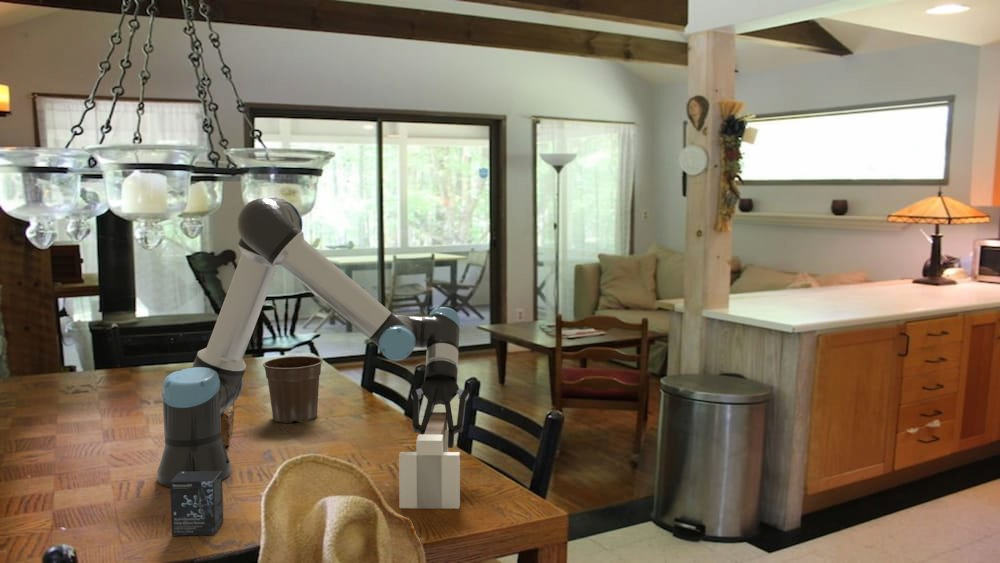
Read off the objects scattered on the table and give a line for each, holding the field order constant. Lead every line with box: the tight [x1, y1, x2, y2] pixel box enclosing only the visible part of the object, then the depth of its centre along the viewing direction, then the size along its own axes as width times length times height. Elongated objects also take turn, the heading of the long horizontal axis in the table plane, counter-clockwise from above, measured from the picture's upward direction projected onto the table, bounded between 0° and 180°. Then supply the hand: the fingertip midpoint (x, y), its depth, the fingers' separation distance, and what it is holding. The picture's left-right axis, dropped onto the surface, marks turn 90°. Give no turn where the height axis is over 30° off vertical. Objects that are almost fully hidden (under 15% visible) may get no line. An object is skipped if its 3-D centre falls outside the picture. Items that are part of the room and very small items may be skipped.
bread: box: [220, 402, 235, 448], centre depth 199 cm, size 19×11×10 cm, turn 15°
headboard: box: [398, 433, 461, 510], centre depth 158 cm, size 8×12×14 cm, turn 89°
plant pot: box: [262, 355, 324, 424], centre depth 217 cm, size 16×16×16 cm
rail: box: [424, 411, 448, 452], centre depth 166 cm, size 16×4×11 cm, turn 179°
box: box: [169, 471, 224, 537], centre depth 144 cm, size 8×6×11 cm
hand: (435, 460), depth 165 cm, fingers closed on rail, 3 cm apart
